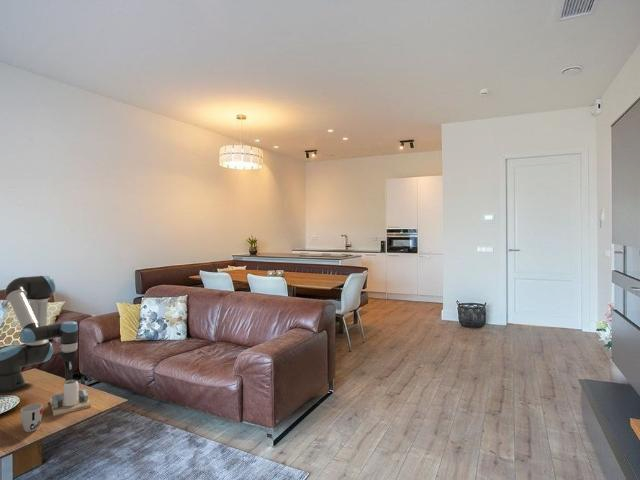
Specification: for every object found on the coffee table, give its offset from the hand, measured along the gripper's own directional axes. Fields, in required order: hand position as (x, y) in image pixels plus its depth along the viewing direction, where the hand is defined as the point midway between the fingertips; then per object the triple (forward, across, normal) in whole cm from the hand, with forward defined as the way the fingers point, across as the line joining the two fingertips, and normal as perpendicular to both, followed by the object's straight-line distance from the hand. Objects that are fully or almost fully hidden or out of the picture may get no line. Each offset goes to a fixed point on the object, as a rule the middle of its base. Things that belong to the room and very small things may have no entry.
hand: (68, 393), depth 205 cm
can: (+2, +10, 0) cm, 11 cm away
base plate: (+4, +7, 0) cm, 8 cm away
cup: (+4, +26, -17) cm, 31 cm away
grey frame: (+2, +6, 0) cm, 6 cm away
